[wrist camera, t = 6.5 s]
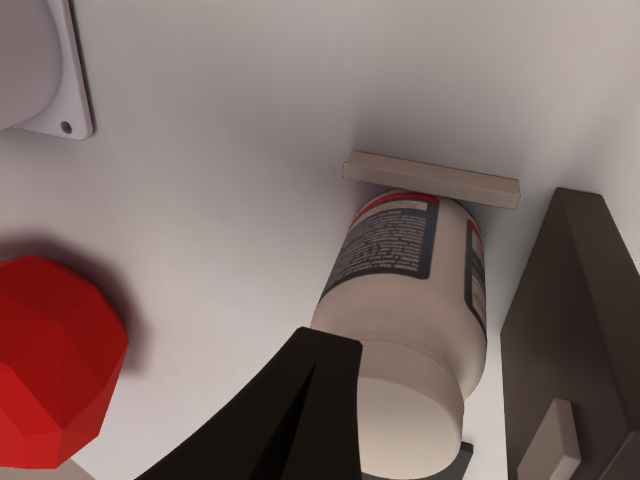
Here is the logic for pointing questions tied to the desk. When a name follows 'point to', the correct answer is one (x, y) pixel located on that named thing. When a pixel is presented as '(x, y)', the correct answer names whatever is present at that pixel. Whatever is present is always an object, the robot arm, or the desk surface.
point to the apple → (53, 361)
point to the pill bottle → (410, 327)
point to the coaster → (450, 475)
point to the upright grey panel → (555, 328)
